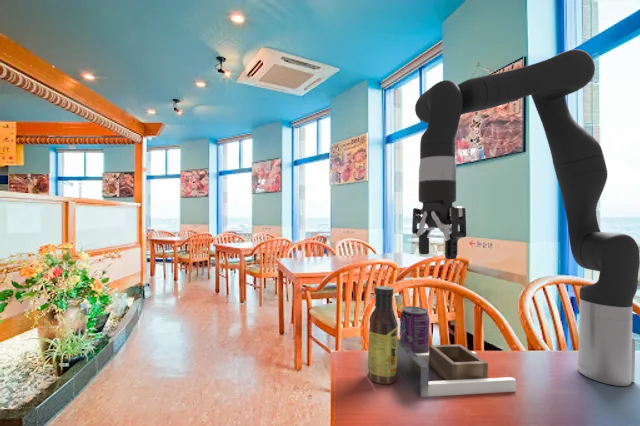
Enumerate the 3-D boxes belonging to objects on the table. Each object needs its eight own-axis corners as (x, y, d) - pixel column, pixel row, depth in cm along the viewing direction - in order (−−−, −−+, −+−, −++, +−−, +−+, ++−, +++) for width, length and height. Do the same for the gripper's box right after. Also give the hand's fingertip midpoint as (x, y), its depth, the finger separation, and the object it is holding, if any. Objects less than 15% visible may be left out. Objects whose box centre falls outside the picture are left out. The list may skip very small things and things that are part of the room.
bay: (473, 361, 81) (473, 337, 81) (516, 392, 67) (516, 362, 67) (393, 364, 78) (393, 339, 78) (420, 397, 64) (421, 367, 64)
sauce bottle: (397, 388, 67) (399, 292, 67) (366, 384, 68) (369, 290, 68) (396, 373, 73) (398, 285, 74) (368, 369, 75) (370, 283, 75)
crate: (459, 365, 78) (460, 344, 78) (487, 387, 68) (487, 363, 68) (428, 366, 77) (429, 345, 77) (452, 388, 67) (452, 364, 67)
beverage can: (403, 348, 87) (405, 304, 87) (431, 355, 84) (432, 308, 84) (395, 358, 81) (397, 310, 81) (424, 365, 78) (425, 315, 78)
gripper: (477, 177, 63) (476, 260, 63) (430, 184, 77) (429, 252, 76) (445, 175, 61) (445, 261, 61) (403, 182, 74) (402, 253, 74)
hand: (436, 256), depth 68 cm, fingers open, 8 cm apart
